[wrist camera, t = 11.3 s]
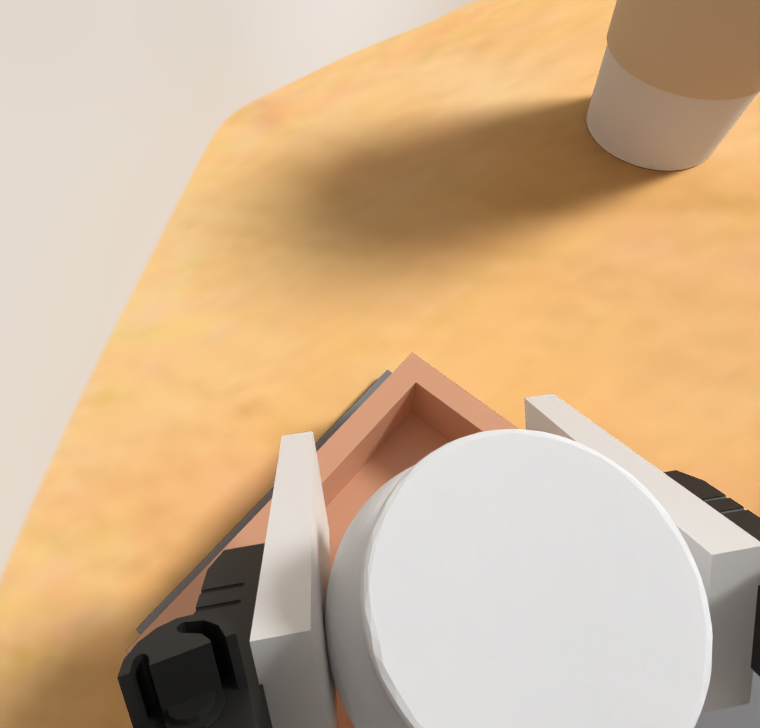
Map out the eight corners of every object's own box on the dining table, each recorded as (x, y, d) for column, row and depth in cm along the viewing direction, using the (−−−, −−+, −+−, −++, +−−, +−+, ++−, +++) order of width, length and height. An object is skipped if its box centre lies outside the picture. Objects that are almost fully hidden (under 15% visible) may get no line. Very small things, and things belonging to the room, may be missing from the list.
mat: (791, 676, 16) (800, 677, 16) (595, 1166, 11) (601, 1182, 11) (387, 374, 21) (387, 369, 21) (141, 629, 16) (136, 629, 16)
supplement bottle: (557, 757, 13) (885, 932, 5) (340, 750, 13) (266, 907, 5) (531, 533, 16) (708, 382, 7) (352, 528, 16) (318, 373, 7)
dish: (694, 605, 16) (751, 595, 14) (482, 1024, 12) (509, 1119, 10) (408, 391, 20) (412, 352, 18) (165, 652, 16) (125, 650, 13)
